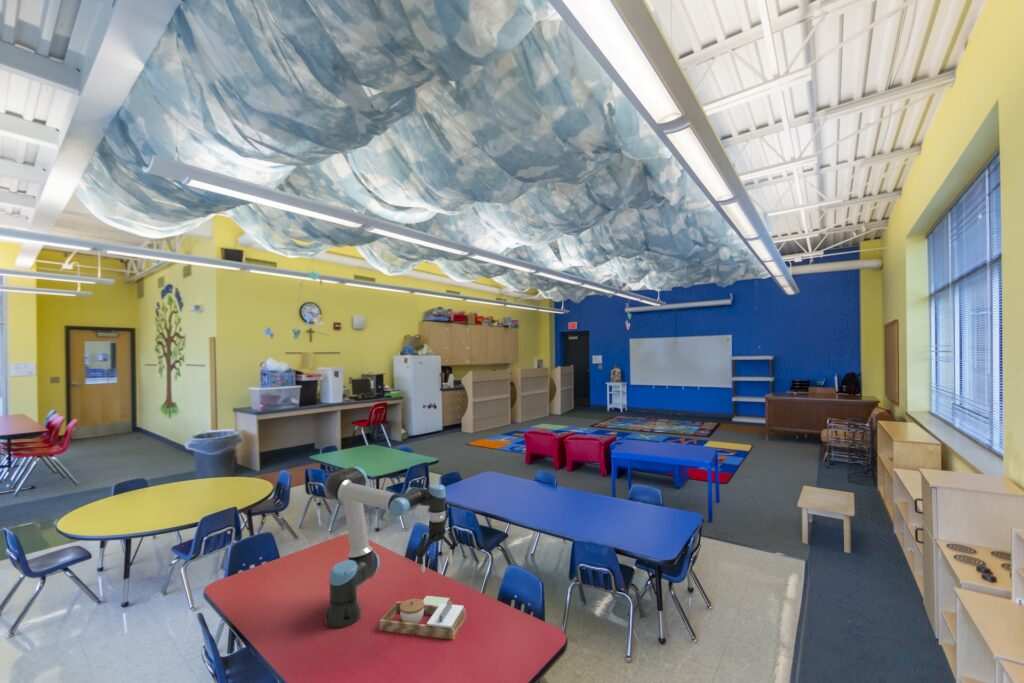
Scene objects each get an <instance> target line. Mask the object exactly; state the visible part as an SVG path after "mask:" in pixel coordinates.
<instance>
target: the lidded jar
mask: <svg viewBox="0 0 1024 683" xmlns="http://www.w3.org/2000/svg"><path fill="white" fill-rule="evenodd" d="M423 600H424V599H421V598H420V599H419V598H409V599H406V600H404V601H401V602H402V603H401V605H400V612H399V614H400V620H401V622H407V623H416V624H420V622H421V620H422V619H423V617H424V615H425V614H424V601H423Z"/></svg>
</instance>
